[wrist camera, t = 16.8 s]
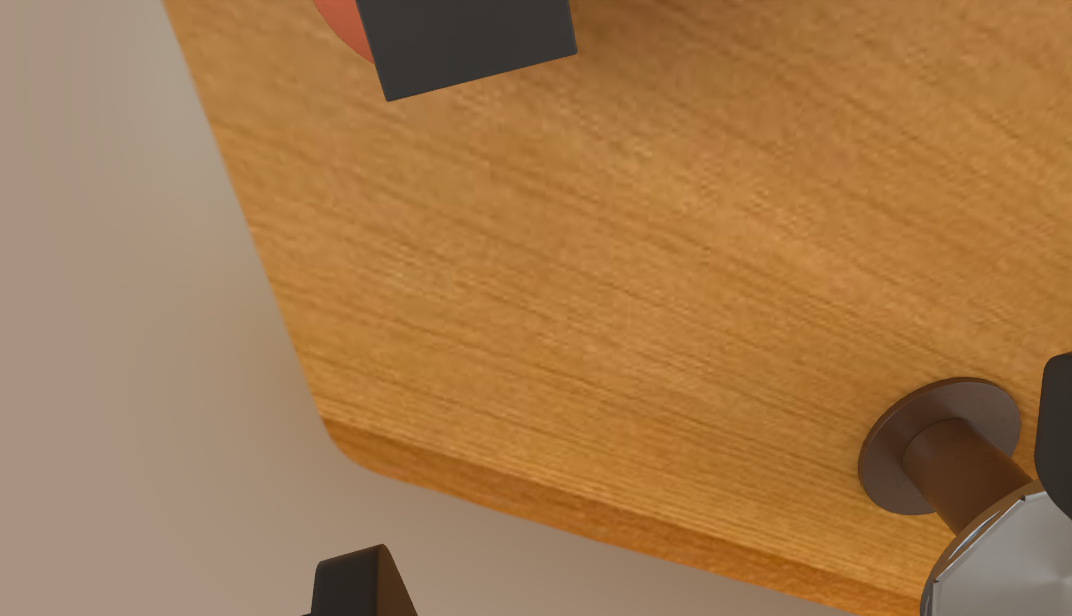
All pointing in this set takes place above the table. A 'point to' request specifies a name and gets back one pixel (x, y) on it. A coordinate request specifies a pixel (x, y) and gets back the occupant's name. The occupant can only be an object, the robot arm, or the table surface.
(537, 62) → the block
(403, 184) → the table surface
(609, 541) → the table surface
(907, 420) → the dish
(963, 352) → the table surface
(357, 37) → the ball
